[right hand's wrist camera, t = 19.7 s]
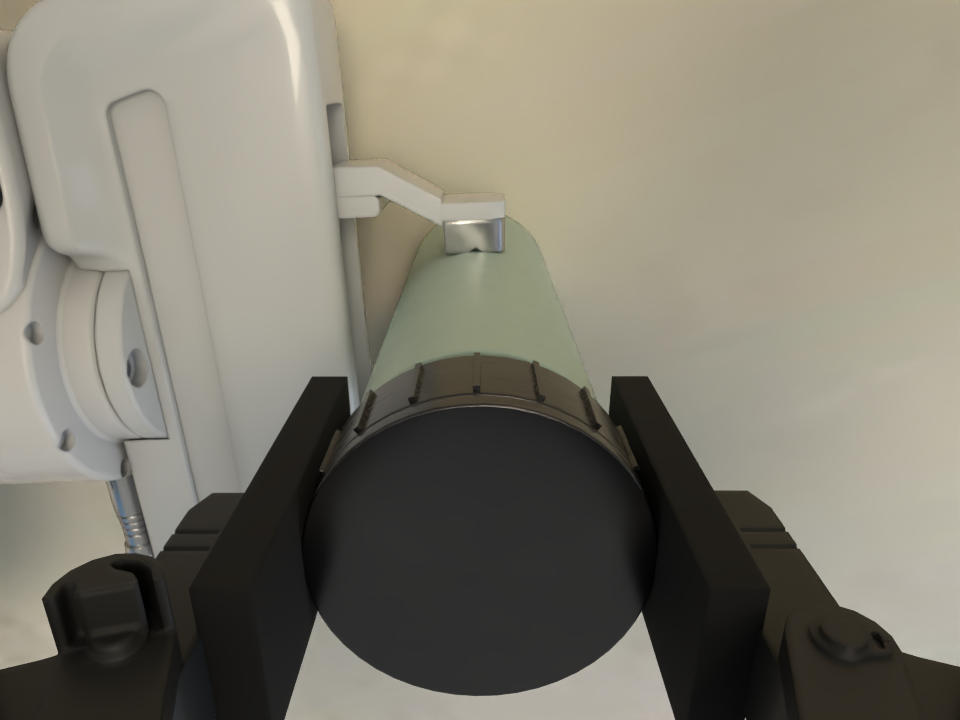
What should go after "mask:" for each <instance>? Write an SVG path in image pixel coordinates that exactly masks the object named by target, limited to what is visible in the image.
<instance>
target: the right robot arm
mask: <svg viewBox="0 0 960 720" xmlns="http://www.w3.org/2000/svg"><path fill="white" fill-rule="evenodd" d="M350 416H351V413H350V400H349V388H348V376H312V377H311V379H310V381H309V382H308V384H307V386H306V388H305V389H304V391H303V393H302V395H301V396H300V398H299V400H298V401H297V403H296V405H295V407H294V408H293V410H292V412H291V413H290V415H289V417H288V419H287V420H286V422H285V424H284V426H283V427H282V429H281V431H280V432H279V434H278V436H277V438H276V439H275V441H274V443H273V445H272V446H271V448H270V450H269V451H268V453H267V455H266V457H265V458H264V460H263V462H262V463H261V465H260V467H259V469H258V470H257V472H256V474H255V476H254V477H253V479H252V481H251V482H250V484H249V486H248V488H247V489H246V491H245V493H212V494H210V495H209V496H207V497H206V498H205V499H203V500H202V501H200V502H199V503H198V504H196V505H195V506H194V507H192V508H191V509H189V510H188V512H187V513H186V515H185V516H184V518H183V519H182V521H181V522H180V523H179V525H178V526H177V528H176V529H175V534H172V535H171V536H170V538H169V539H168V541H167V542H166V544H165V545H164V547H163V551H160V552H159V554H158V555H157V557H156V558H155V559H154V558H153V557H151V556H147V555H142V554H138V553H127V554H114V555H110V556H106V557H103V558H99V559H95V560H92V561H90V562H88V563H86V564H83V565H81V566H79V567H77V568H75V569H73V570H71V571H69V572H68V573H67V574H65V575H64V576H63V577H61V578H60V579H59V580H58V581H56V582H55V583H54V584H53V585H52V586H51V587H50V589H49V590H48V591H47V593H46V594H45V595H44V597H43V598H42V601H43V604H44V608H45V611H46V614H47V617H48V621H49V624H50V627H51V630H52V634H53V637H54V640H55V643H56V647H57V650H58V655H56V656H53V657H50V658H46V659H43V660H39V661H35V662H31V663H27V664H22V665H18V666H14V667H10V668H5V669H1V670H0V720H284V719H285V716H286V712H287V709H288V706H289V703H290V699H291V696H292V693H293V690H294V686H295V683H296V680H297V677H298V674H299V670H300V667H301V664H302V661H303V657H304V654H305V651H306V648H307V644H308V641H309V638H310V635H311V631H312V628H313V625H314V622H315V619H316V615H317V612H318V610H317V608H316V606H315V604H314V602H313V600H312V598H311V595H310V592H309V589H308V586H307V583H306V580H305V573H304V565H303V556H302V534H303V528H304V521H305V518H306V515H307V512H308V509H309V506H310V503H311V500H312V498H313V495H314V493H315V491H316V488H317V485H318V483H319V480H320V478H321V476H318V475H317V473H318V471H319V468H320V466H321V464H322V461H323V459H324V457H325V454H326V452H327V449H328V447H329V445H330V442H331V440H332V438H333V435H334V433H335V431H336V430H339V431H341V430H342V428H343V426H344V424H345V423H346V422H347V420H348V419H349V417H350ZM609 416H610V418H611V419H612V421H613V422H614V424H615V426H616V427H617V426H619V425H621V427H622V428H623V430H624V433H625V435H626V437H627V440H628V442H629V445H630V447H631V449H632V452H633V454H634V456H635V459H636V461H637V464H638V466H639V468H640V470H639V471H637V475H638V477H639V480H640V482H641V484H642V487H643V489H644V492H645V494H646V497H647V499H648V502H649V504H650V506H651V509H652V512H653V516H654V520H655V524H656V528H657V539H658V552H657V561H656V570H655V577H654V582H653V586H652V589H651V591H650V594H649V596H648V599H647V601H646V604H645V606H644V607H643V609H642V613H643V617H644V620H645V623H646V626H647V630H648V633H649V636H650V639H651V642H652V646H653V649H654V652H655V655H656V659H657V662H658V665H659V668H660V672H661V675H662V678H663V681H664V685H665V688H666V691H667V694H668V697H669V701H670V704H671V707H672V710H673V714H674V717H675V720H745V718H746V720H960V667H958V666H954V665H949V664H945V663H941V662H937V661H932V660H928V659H924V658H919V657H916V656H913V655H910V654H906V653H903V652H901V650H900V649H899V647H898V645H897V644H896V642H895V641H894V639H893V637H892V636H891V635H890V634H888V633H887V632H886V631H885V630H884V629H883V628H881V627H880V626H879V625H878V624H877V623H876V622H874V621H872V620H870V619H869V618H867V617H865V616H863V615H861V614H859V613H857V612H855V611H853V610H850V609H846V608H843V607H840V606H839V605H838V604H837V602H836V601H835V599H834V598H833V596H832V595H831V593H830V592H829V591H828V589H827V588H826V586H825V585H824V583H823V582H822V580H821V579H820V578H819V576H818V575H817V573H816V572H815V570H814V569H813V567H812V566H811V565H810V563H809V562H808V560H807V559H806V557H805V556H804V554H803V553H802V552H801V550H800V549H797V544H796V543H795V541H794V540H793V539H792V537H791V536H790V534H789V533H788V532H785V527H784V526H783V524H782V523H781V521H780V520H779V518H778V517H777V516H776V514H775V513H774V511H773V510H772V508H771V507H769V506H768V505H766V504H765V503H764V502H762V501H761V500H760V499H758V498H757V497H755V496H754V495H753V494H751V493H750V492H748V491H714V490H713V488H712V487H711V485H710V483H709V481H708V480H707V478H706V476H705V475H704V473H703V471H702V469H701V468H700V466H699V464H698V462H697V461H696V459H695V457H694V456H693V454H692V452H691V450H690V449H689V447H688V445H687V444H686V442H685V440H684V438H683V437H682V435H681V433H680V431H679V430H678V428H677V426H676V425H675V423H674V421H673V419H672V418H671V416H670V414H669V413H668V411H667V409H666V407H665V406H664V404H663V402H662V400H661V399H660V397H659V395H658V394H657V392H656V390H655V388H654V387H653V385H652V383H651V381H650V380H649V378H648V376H612V383H611V395H610V408H609Z"/></svg>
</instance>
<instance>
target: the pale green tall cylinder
mask: <svg viewBox="0 0 960 720" xmlns="http://www.w3.org/2000/svg"><path fill="white" fill-rule="evenodd" d="M474 352H480V355H486V356H498V357H507V358H512V359H517V360H522V361H526V362H530V363H532V362H533V360H534V361H537V362H539V365H540V366H541V367H544V368H547V369H549V370H551V371H553V372H555V373H557V374H559V375H561V376H563V377H565V378H567V379H568V380H570V381H571V382H573V383H574V384H576V385H577V386H579V387H580V388H583V387H584V386H585V387H587V388H588V389H589V391H590V394H591V397H592V398H593V399H595V400H596V397H595V394H594V392H593V389H592V386H591V384H590V381H589V378H588V376H587V373H586V370H585V368H584V365H583V362H582V360H581V357H580V354H579V352H578V349H577V346H576V344H575V341H574V338H573V336H572V333H571V330H570V328H569V325H568V322H567V320H566V317H565V315H564V312H563V309H562V307H561V304H560V301H559V299H558V296H557V293H556V291H555V288H554V285H553V283H552V280H551V277H550V275H549V272H548V269H547V267H546V264H545V261H544V259H543V256H542V253H541V251H540V248H539V246H538V245H537V243H536V241H535V239H534V238H533V237H532V235H531V234H530V233H529V232H528V231H527V230H526V229H525V228H524V227H523V226H522V225H521V224H519V223H518V222H517V221H515V220H513V219H511V218H510V217H508V216H505V250H503V251H501V252H494V253H488V252H481V251H480V250H478V249H476V248H475V249H473V250H472V251H471V252H469V253H463V254H445V244H444V231H443V224H442V226H440V225H436V226H435V227H434V228H433V229H432V230H431V231H430V232H429V233H428V234H427V236H426V237H425V238H424V240H423V241H422V243H421V245H420V247H419V249H418V252H417V254H416V257H415V260H414V262H413V265H412V267H411V270H410V273H409V275H408V278H407V281H406V283H405V286H404V289H403V291H402V294H401V297H400V299H399V302H398V305H397V307H396V310H395V313H394V315H393V318H392V320H391V323H390V326H389V328H388V331H387V334H386V336H385V339H384V342H383V344H382V347H381V350H380V352H379V355H378V358H377V360H376V363H375V366H374V368H373V371H372V374H371V376H370V379H369V381H368V384H367V387H366V389H365V392H364V395H363V397H362V400H361V403H362V402H363V401H364V399H365V396H366V393H367V392H368V391H369V390H372V391H373V392H374V391H376V390H377V389H378V388H379V387H381V386H382V385H383V384H385V383H386V382H388V381H390V380H391V379H393V378H395V377H396V376H398V375H400V374H402V373H404V372H406V371H409V370H411V369H413V368H415V364H417V363H419V362H421V363H422V365H424V364H427V363H431V362H434V361H438V360H441V359H447V358H454V357H460V356H474ZM596 401H597V400H596ZM361 403H360V404H361Z"/></svg>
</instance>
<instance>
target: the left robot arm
mask: <svg viewBox="0 0 960 720" xmlns="http://www.w3.org/2000/svg"><path fill="white" fill-rule="evenodd" d="M389 200H390V201H392V202H394V203H396V204H398V205H400V206H402V207H404V208H406V209H408V210H410V211H412V212H414V213H416V214H418V215H420V216H422V217H424V218H426V219H428V220H430V221H432V222H434V223H436V224H438V225H440V226H442V224H443V231H444V244H445V254H463V253H469V252H471V251H472V250H473V249H475V248H476V249H478V250H480V251H481V252H488V253H494V252H501V251H503V250H505V198H504V194H500V193H468V194H444V190H443V189H441V188H439V187H438V186H436V185H434V184H432V183H430V182H428V181H426V180H425V179H423V178H421V177H419V176H417V175H415V174H414V173H412V172H410V171H408V170H406V169H404V168H403V167H401V166H399V165H397V164H395V163H393V162H392V161H390V160H388V159H364V160H350V157H349V148H348V138H347V128H346V119H345V109H344V99H343V90H342V80H341V71H340V61H339V51H338V41H337V32H336V22H335V14H334V9H333V6H332V4H331V2H330V0H39V1H38V2H37V3H35V4H34V5H33V6H32V7H31V8H30V9H29V10H27V11H26V13H25V14H24V15H23V16H22V17H21V19H20V20H19V22H18V23H17V25H16V26H15V29H14V31H10V30H0V484H27V483H57V482H92V481H106V484H107V488H108V491H109V495H110V499H111V502H112V505H113V508H114V510H115V513H116V515H117V517H118V519H119V521H120V524H121V526H122V529H123V532H124V536H125V540H126V541H125V551H126V554H127V553H138V554H142V555H147V556H151V557H153V558H154V559H155V558H156V557H157V555H158V554H159V552H160V551H163V547H164V545H165V544H166V542H167V541H168V539H169V538H170V536H171V535H172V534H175V529H176V528H177V526H178V525H179V523H180V522H181V521H182V519H183V518H184V516H185V515H186V513H187V512H188V510H189V509H191V508H192V507H194V506H195V505H196V504H198V503H199V502H200V501H202V500H203V499H205V498H206V497H207V496H209V495H210V494H212V493H245V491H246V489H247V488H248V486H249V484H250V482H251V481H252V479H253V477H254V476H255V474H256V472H257V470H258V469H259V467H260V465H261V463H262V462H263V460H264V458H265V457H266V455H267V453H268V451H269V450H270V448H271V446H272V445H273V443H274V441H275V439H276V438H277V436H278V434H279V432H280V431H281V429H282V427H283V426H284V424H285V422H286V420H287V419H288V417H289V415H290V413H291V412H292V410H293V408H294V407H295V405H296V403H297V401H298V400H299V398H300V396H301V395H302V393H303V391H304V389H305V388H306V386H307V384H308V382H309V381H310V379H311V377H312V376H348V388H349V400H350V413H351V415H352V413H353V412H354V411H355V409H356V408H357V407H358V406H359V405H360V403H361V400H362V397H363V395H364V392H365V389H366V387H367V384H368V381H369V379H370V376H371V374H372V370H371V360H370V350H369V341H368V331H367V321H366V312H365V302H364V292H363V283H362V273H361V263H360V254H359V244H358V235H357V225H356V218H367V217H377V216H378V215H379V213H380V212H381V211H382V210H383V208H384V207H385V206H386V205H387V204H388V202H389ZM316 618H322V617H321V616H320V614H319V612H317V615H316Z"/></svg>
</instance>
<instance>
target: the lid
mask: <svg viewBox="0 0 960 720" xmlns="http://www.w3.org/2000/svg"><path fill="white" fill-rule="evenodd" d="M639 470H640V468H639V466H638V464H637V461H636V459H635V456H634V454H633V452H632V449H631V447H630V445H629V442H628V440H627V437H626V435H625V433H624V430H623V428H622V427H621V425H619V426H617V427H616V426H615V424H614V422H613V421H612V419H611V418H610V416H609V415H608V414H607V413H606V412H605V410H604V409H603V408H602V407H601V406H600V404H599V403H598V402H597V401H596V400H595V399H593V398H592V397H591V394H590V391H589V389H588V388H587V387H585V386H584V387H583V388H580V387H579V386H577V385H576V384H574V383H573V382H571V381H570V380H568V379H567V378H565V377H563V376H561V375H559V374H557V373H555V372H553V371H551V370H549V369H547V368H544V367H541V366H540V365H539V362H537V361H534V360H533V362H532V363H530V362H526V361H522V360H517V359H512V358H507V357H498V356H486V355H480V352H474V356H460V357H454V358H447V359H441V360H438V361H434V362H431V363H427V364H424V365H422V363H421V362H419V363H417V364H415V368H413V369H411V370H409V371H406V372H404V373H402V374H400V375H398V376H396V377H395V378H393V379H391V380H390V381H388V382H386V383H385V384H383V385H382V386H381V387H379V388H378V389H377V390H376V391H374V392H373V391H372V390H369V391H368V392H367V393H366V396H365V399H364V401H363V402H362V403H361V404H360V405H359V406H358V407H357V408H356V409H355V411H354V412H353V413H352V415H351V416H350V417H349V419H348V420H347V422H346V423H345V424H344V426H343V428H342V430H341V431H339V430H336V431H335V433H334V435H333V438H332V440H331V442H330V445H329V447H328V449H327V452H326V454H325V457H324V459H323V461H322V464H321V466H320V468H319V471H318V473H317V475H318V476H321V478H320V480H319V483H318V485H317V488H316V491H315V493H314V495H313V498H312V500H311V503H310V506H309V509H308V512H307V515H306V518H305V521H304V528H303V534H302V556H303V565H304V573H305V580H306V583H307V586H308V589H309V592H310V595H311V598H312V600H313V602H314V604H315V606H316V608H317V610H318V612H319V614H320V616H321V617H322V618H323V620H324V621H325V623H326V624H327V626H328V627H329V628H330V630H331V631H332V632H333V633H334V634H335V635H336V636H337V638H338V639H339V640H340V641H341V642H342V643H343V644H344V645H345V646H346V647H347V648H349V649H350V650H351V651H352V652H353V653H354V654H356V655H357V656H358V657H359V658H361V659H362V660H364V661H365V662H367V663H368V664H370V665H371V666H373V667H374V668H376V669H377V670H379V671H381V672H383V673H385V674H387V675H389V676H391V677H393V678H395V679H398V680H400V681H403V682H406V683H408V684H411V685H413V686H417V687H421V688H424V689H428V690H432V691H437V692H443V693H448V694H455V695H469V696H490V695H503V694H511V693H518V692H523V691H527V690H531V689H536V688H539V687H542V686H545V685H548V684H551V683H554V682H557V681H559V680H562V679H564V678H566V677H568V676H570V675H572V674H575V673H577V672H578V671H580V670H582V669H583V668H585V667H587V666H588V665H590V664H592V663H593V662H595V661H596V660H597V659H599V658H600V657H601V656H603V655H604V654H605V653H606V652H608V651H609V650H610V649H611V648H612V647H613V646H614V645H615V644H616V643H617V642H618V641H619V640H620V639H621V638H622V637H623V636H624V635H625V634H626V633H627V631H628V630H629V629H630V627H631V626H632V625H633V624H634V622H635V621H636V619H637V618H638V616H639V614H640V613H641V611H642V609H643V607H644V606H645V604H646V601H647V599H648V596H649V594H650V591H651V589H652V586H653V582H654V577H655V570H656V561H657V552H658V539H657V528H656V524H655V520H654V516H653V512H652V509H651V506H650V504H649V502H648V499H647V497H646V494H645V492H644V489H643V487H642V484H641V482H640V480H639V477H638V475H637V471H639Z"/></svg>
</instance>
